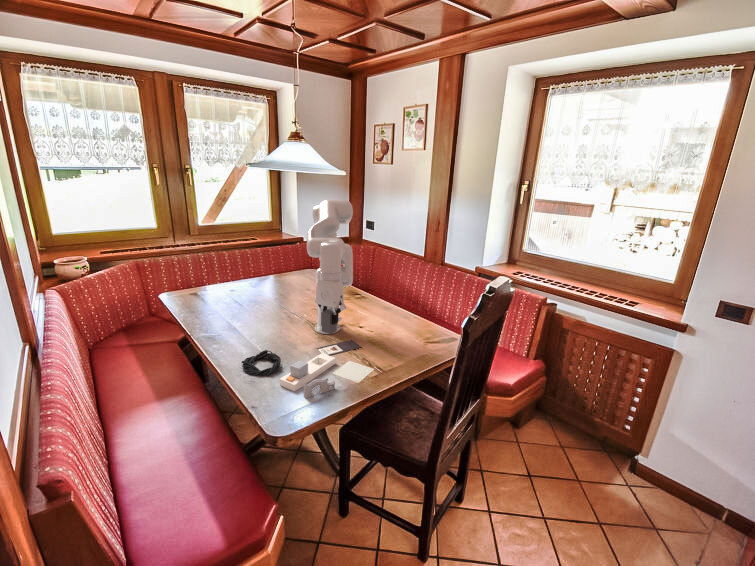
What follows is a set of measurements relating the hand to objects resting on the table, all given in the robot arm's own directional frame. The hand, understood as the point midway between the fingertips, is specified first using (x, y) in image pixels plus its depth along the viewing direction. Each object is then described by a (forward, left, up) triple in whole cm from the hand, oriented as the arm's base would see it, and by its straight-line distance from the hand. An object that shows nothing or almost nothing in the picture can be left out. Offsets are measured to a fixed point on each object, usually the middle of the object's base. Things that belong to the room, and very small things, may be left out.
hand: (330, 321), depth 141 cm
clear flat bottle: (+15, +7, -21) cm, 27 cm away
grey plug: (+13, -4, -20) cm, 24 cm away
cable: (+13, -23, -21) cm, 34 cm away
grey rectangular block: (0, 0, -4) cm, 4 cm away
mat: (-4, +9, -20) cm, 23 cm away
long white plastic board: (+7, -4, -21) cm, 23 cm away
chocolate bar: (-17, -7, -21) cm, 28 cm away
